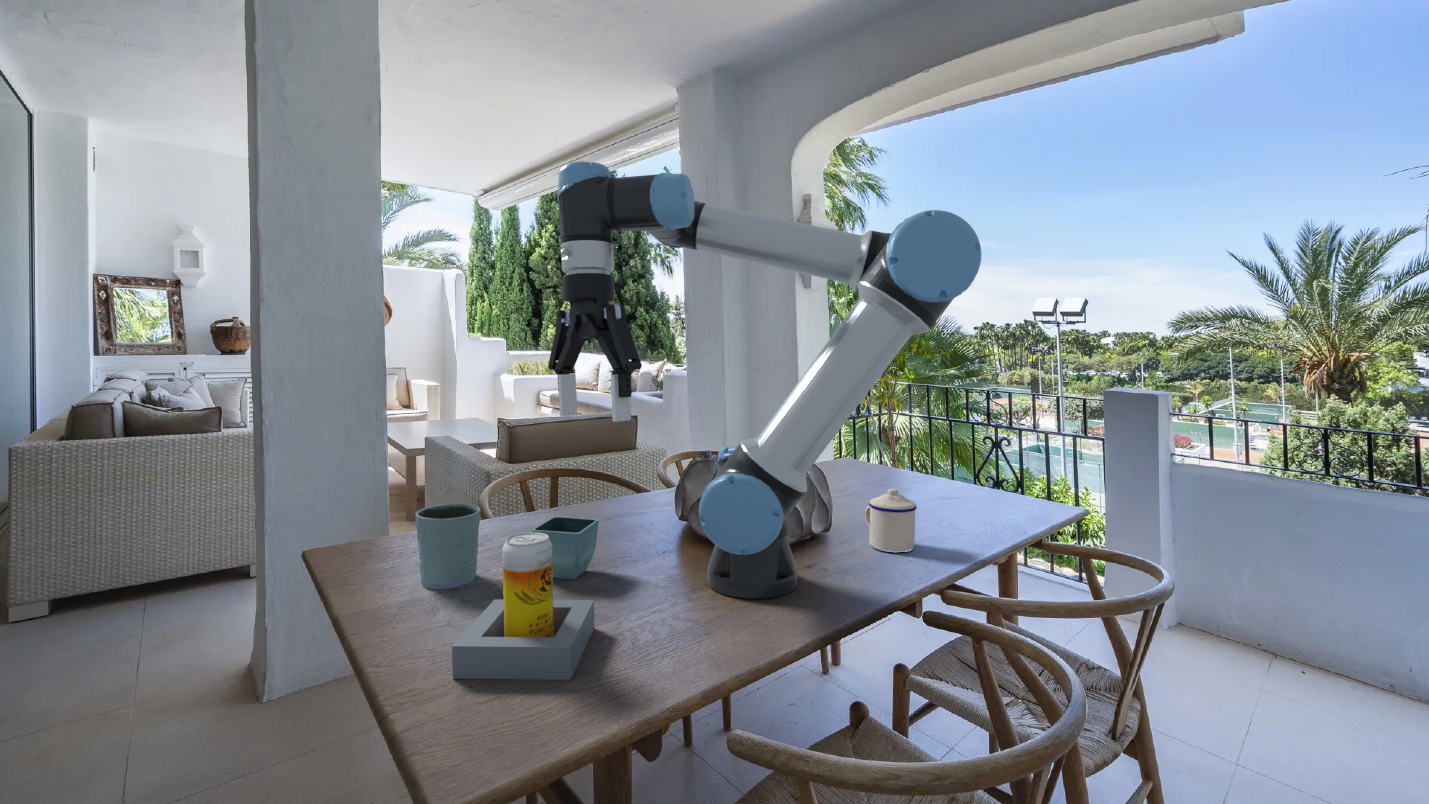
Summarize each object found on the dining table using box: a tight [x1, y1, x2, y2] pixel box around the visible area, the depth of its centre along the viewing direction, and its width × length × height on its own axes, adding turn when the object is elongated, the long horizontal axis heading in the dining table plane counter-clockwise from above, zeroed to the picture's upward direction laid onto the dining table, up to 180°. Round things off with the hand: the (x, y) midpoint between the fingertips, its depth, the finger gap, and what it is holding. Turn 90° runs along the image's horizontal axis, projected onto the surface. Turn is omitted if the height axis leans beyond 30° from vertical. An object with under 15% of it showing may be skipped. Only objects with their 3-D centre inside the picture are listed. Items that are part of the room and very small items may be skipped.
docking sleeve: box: [451, 598, 595, 681], centre depth 82 cm, size 14×14×4 cm
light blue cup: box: [414, 503, 482, 590], centre depth 106 cm, size 10×10×12 cm
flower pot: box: [531, 516, 600, 580], centre depth 109 cm, size 9×9×9 cm
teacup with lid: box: [864, 488, 918, 551], centre depth 127 cm, size 12×9×12 cm
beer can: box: [502, 531, 555, 637], centre depth 81 cm, size 6×6×15 cm
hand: (594, 418), depth 94 cm, fingers open, 13 cm apart
